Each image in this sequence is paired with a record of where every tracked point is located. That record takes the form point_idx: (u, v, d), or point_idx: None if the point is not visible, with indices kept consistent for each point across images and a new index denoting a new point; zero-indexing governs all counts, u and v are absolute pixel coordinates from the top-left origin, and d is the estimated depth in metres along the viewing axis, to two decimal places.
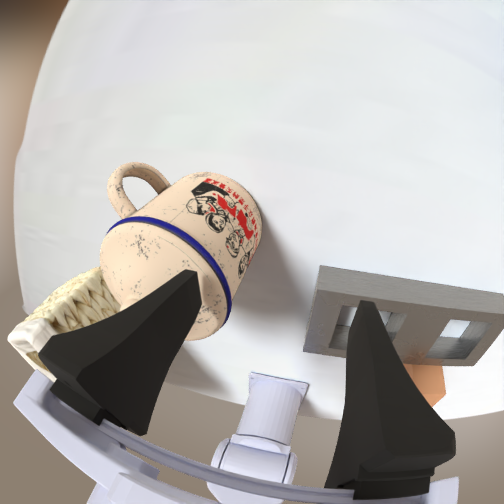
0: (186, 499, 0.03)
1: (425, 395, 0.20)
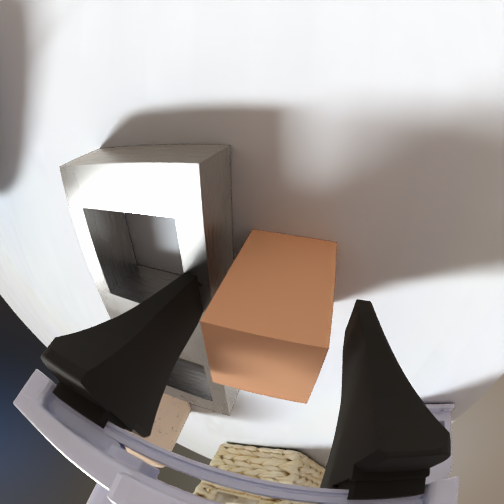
0: (186, 499, 0.03)
1: (214, 365, 0.10)
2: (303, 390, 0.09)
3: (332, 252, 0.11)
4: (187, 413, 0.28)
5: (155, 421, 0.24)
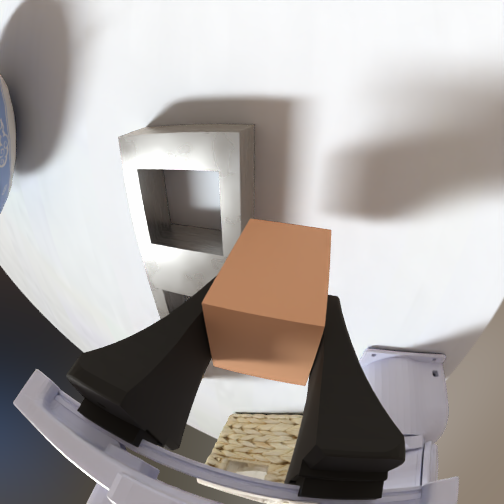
0: (186, 499, 0.03)
1: (215, 348, 0.10)
2: (301, 372, 0.10)
3: (327, 239, 0.12)
4: None
5: None
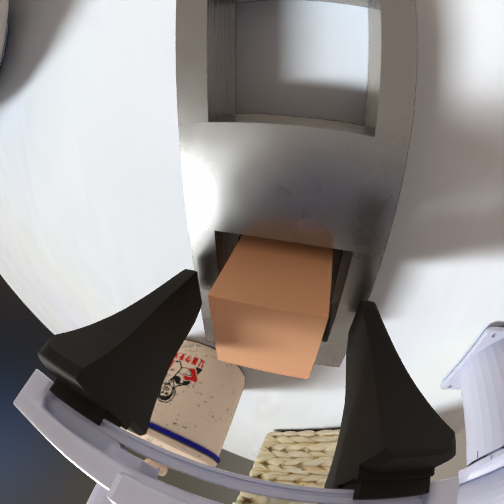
0: (186, 499, 0.03)
1: (220, 342, 0.10)
2: (304, 365, 0.10)
3: None
4: (242, 389, 0.22)
5: (205, 401, 0.18)
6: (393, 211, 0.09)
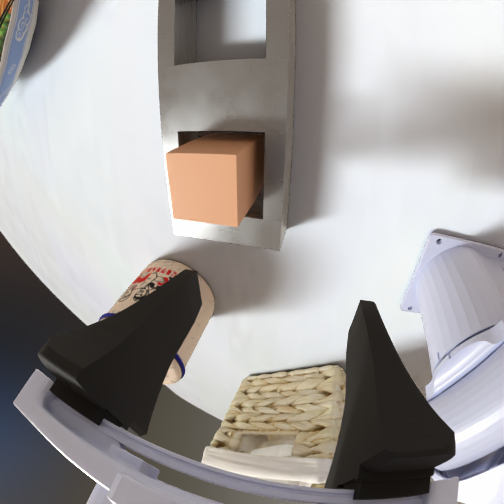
0: (186, 499, 0.03)
1: (173, 196, 0.15)
2: (231, 208, 0.14)
3: (258, 136, 0.17)
4: (211, 308, 0.27)
5: None
6: (285, 100, 0.13)
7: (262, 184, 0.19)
